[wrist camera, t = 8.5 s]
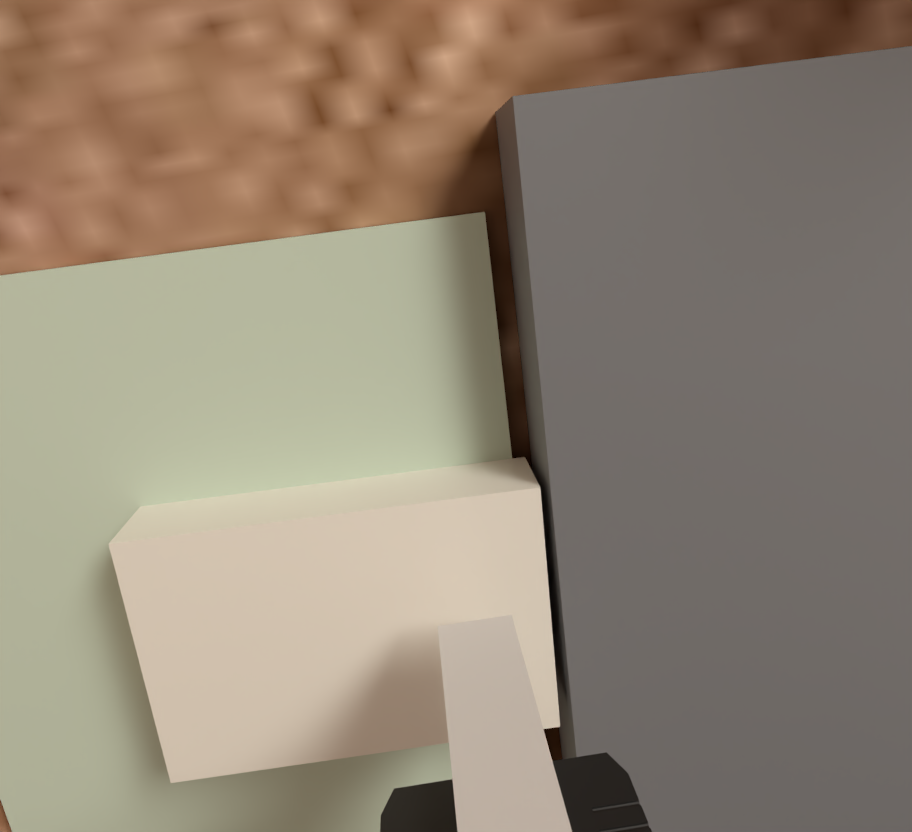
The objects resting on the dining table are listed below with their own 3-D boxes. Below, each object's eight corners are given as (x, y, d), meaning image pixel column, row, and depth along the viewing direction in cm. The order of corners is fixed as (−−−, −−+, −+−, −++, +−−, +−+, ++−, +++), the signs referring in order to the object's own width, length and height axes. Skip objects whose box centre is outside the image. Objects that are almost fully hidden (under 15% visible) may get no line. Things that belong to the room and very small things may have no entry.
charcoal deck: (1034, 831, 23) (1109, 905, 20) (577, 907, 22) (599, 993, 20) (1123, 32, 17) (1246, 3, 14) (495, 112, 16) (512, 96, 14)
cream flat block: (524, 457, 18) (540, 487, 16) (543, 675, 19) (560, 726, 18) (139, 506, 17) (108, 543, 15) (193, 724, 19) (170, 783, 17)
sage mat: (554, 857, 22) (557, 868, 21) (61, 938, 21) (55, 952, 21) (482, 212, 17) (484, 211, 16) (-167, 297, 16) (-181, 299, 16)
